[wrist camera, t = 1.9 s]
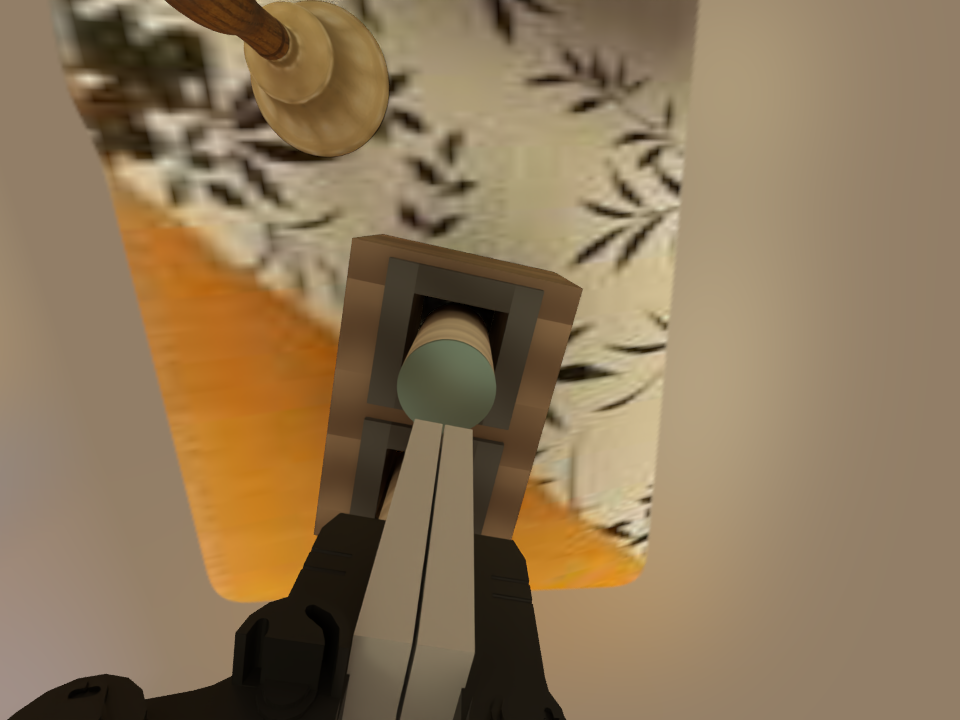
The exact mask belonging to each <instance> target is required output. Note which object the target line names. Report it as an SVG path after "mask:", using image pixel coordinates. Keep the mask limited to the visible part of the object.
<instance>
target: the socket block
mask: <svg viewBox="0 0 960 720" xmlns="http://www.w3.org/2000/svg"><path fill="white" fill-rule="evenodd" d="M582 290H583V289H582V288H580V287H579V286H577V285H575V284H574V283H572V282H570V281H569V280H567V279H565V278H564V277H562V276H560V275H558V274H557V273H555V272H551V271H546V270H542V269H537V268H533V267H528V266H524V265H519V264H515V263H510V262H506V261H501V260H497V259H492V258H488V257H483V256H479V255H474V254H470V253H465V252H461V251H456V250H452V249H447V248H443V247H438V246H434V245H429V244H425V243H420V242H416V241H411V240H407V239H402V238H398V237H393V236H389V235H384V234H380V235H372V236H364V237H357V238H352V245H351V253H350V260H349V268H348V276H347V284H346V291H345V299H344V307H343V314H342V322H341V330H340V337H339V345H338V353H337V360H336V368H335V376H334V383H333V391H332V399H331V407H330V414H329V422H328V430H327V437H326V445H325V453H324V460H323V468H322V476H321V483H320V491H319V499H318V506H317V514H316V522H315V530H314V535H318V534H319V532H320V530H321V528H322V527H323V526H324V525H326V524H327V523H328V522H329V521H331V520H332V519H333V518H334V517H336V516H337V515H338V514H339V513H345V514H351V515H357V516H363V517H369V518H375V519H379V516H380V513H381V510H382V507H383V504H384V500H385V497H386V494H387V491H388V487H389V484H390V481H391V478H392V475H393V471H394V468H395V465H396V462H397V460H398V458H399V456H400V455H401V454H402V453H397V450H399V451H405V452H406V449H407V445H408V442H409V438H410V435H411V431H412V428H413V424H414V422H413V421H412V420H411V419H410V418H409V417H408V415H407V414H406V413H405V411H404V410H403V408H402V406H401V404H400V401H399V398H398V393H397V380H398V375H399V372H400V370H401V367H402V365H403V363H404V361H405V359H406V357H407V355H408V353H409V351H410V348H411V346H412V344H413V342H414V340H415V338H416V336H417V334H418V331H419V326H420V320H421V315H422V309H423V304H424V298H425V296H430V297H434V298H439V299H444V300H448V301H453V302H458V303H462V304H467V305H472V306H477V307H481V308H486V309H491V310H495V311H494V315H493V320H492V324H491V328H490V333H489V342H490V348H491V355H492V361H493V367H494V374H495V380H496V395H495V400H494V403H493V406H492V408H491V410H490V411H489V413H488V414H487V415H486V417H485V418H484V419H483V420H482V421H481V422H480V423H478V424H477V425H475V426H474V427H472V428H470V429H471V430H473V526H474V534H479V535H485V536H491V537H497V538H503V539H509V540H511V539H512V535H513V532H514V528H515V525H516V521H517V518H518V514H519V511H520V507H521V504H522V500H523V497H524V493H525V490H526V486H527V483H528V479H529V476H530V472H531V469H532V465H533V462H534V458H535V455H536V451H537V448H538V444H539V441H540V437H541V434H542V430H543V427H544V423H545V420H546V416H547V413H548V409H549V406H550V402H551V399H552V395H553V391H554V388H555V384H556V381H557V377H558V374H559V370H560V367H561V363H562V360H563V356H564V353H565V349H566V346H567V342H568V339H569V335H570V332H571V328H572V325H573V321H574V318H575V314H576V311H577V307H578V304H579V300H580V297H581V293H582ZM442 437H443V434H442V433H441V440H440V446H441V441H442ZM439 451H440V447H439ZM438 455H439V454H438Z"/></svg>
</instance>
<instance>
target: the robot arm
mask: <svg viewBox="0 0 960 720" xmlns="http://www.w3.org/2000/svg"><path fill="white" fill-rule="evenodd" d="M442 425H443V424H440V423H434V422H429V421H424V420H419V419H415V420H414V424H413V428H412V431H411V435H410V438H409V442H408V445H407V449H406V452H405V456H404V459H403V463H402V466H401V470H400V473H399V477H398V480H397V484H396V487H395V491H394V494H393V498H392V501H391V505H390V508H389V512H388V515H387V519H386V520H381V519H375V518H369V517H363V516H357V515H351V514H345V513H339V514H338V515H337V516H336V517H334V518H333V519H332V520H331V521H329V522H328V523H327V524H326V525H324V526H323V527H322V528H321V530H320V532H319V534H318V537H317V539H316V541H315V543H314V545H313V547H312V550H311V552H310V553H309V555H308V557H307V559H306V561H305V563H304V566H303V569H301V571H300V573H299V575H298V577H297V579H296V582H295V584H294V586H293V588H292V590H291V592H290V594H289V596H288V597H286V598H282V599H279V600H276V601H273V602H269V603H268V604H267V605H265V606H263V607H262V608H260V609H259V610H257V611H256V612H254V613H253V614H251V615H250V616H249V617H248V618H247V619H246V621H245V622H244V623H243V624H242V625H241V627H240V628H239V629H238V630H237V632H236V634H235V647H234V659H233V672H232V673H233V674H232V676H231V677H229V678H227V679H225V680H223V681H220V682H218V683H216V684H215V685H212V686H208V687H205V688H201V689H197V690H194V691H188V692H183V693H178V694H172V695H167V696H161V697H156V698H150V699H144V694H143V690H142V689H141V688H140V687H139V686H137V685H136V684H135V683H134V682H133V681H131V680H130V679H129V678H126V677H120V676H115V675H109V674H103V675H97V676H90V677H84V678H79V679H76V680H73V681H71V682H69V683H67V684H64V685H62V686H59V687H57V688H54V689H52V690H50V691H48V692H46V693H44V694H43V695H41V696H40V697H38V698H37V699H35V700H34V701H32V702H31V703H29V704H28V705H27V706H25V707H24V708H22V709H21V710H19V711H18V712H16V713H15V714H14V715H13V716H11V717H10V718H9V719H8V720H566V719H565V717H564V714H563V712H562V709H561V707H560V706H559V704H558V703H557V702H556V700H555V699H554V698H553V696H552V695H551V694H550V692H549V690H548V687H547V684H546V680H545V675H544V669H543V663H542V657H541V651H540V645H539V638H538V632H537V627H536V620H535V614H534V608H533V604H532V596H531V590H530V585H529V577H528V571H527V565H526V560H525V558H524V556H523V555H522V553H521V552H520V550H519V549H518V547H517V546H516V544H515V542H514V541H513V540H509V539H503V538H497V537H491V536H485V535H479V534H474V526H473V430H471V429H466V428H461V427H455V426H450V425H445V427H444V432H443V437H442V441H441V446H440V440H441V433H442ZM439 447H440V451H439ZM438 454H439V455H438Z"/></svg>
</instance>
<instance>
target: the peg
mask: <svg viewBox="0 0 960 720" xmlns="http://www.w3.org/2000/svg"><path fill="white" fill-rule="evenodd" d="M397 393H398V398H399V401H400V404H401V406H402V408H403V410H404V411H405V413H406V414H407V415H408V417H409V418H410V419H411V420H412V421H413V422H414V420H415V419H419V420H424V421H429V422H434V423H440V424H443V425H442V434H443V432H444V427H445V425H450V426H455V427H461V428H466V429H470V428H472V427H474V426H475V425H477V424H478V423H480V422H481V421H482V420H483V419H484V418H485V417H486V415H487V414H488V413H489V411H490V410H491V408H492V406H493V403H494V400H495V395H496V380H495V374H494V367H493V361H492V355H491V348H490V342H489V335H488V330H487V327H486V324H485V322H484V320H483V319H482V318H481V316H480V315H479V314H478V313H477V312H476V311H474V310H473V309H471V308H469V307H467V306H464V305H460V304H447V305H443V306H440V307H438V308H436V309H435V310H433V311H432V312H431V313H430V314H429V315H428V316H427V317H426V318H425V320H424V322H423V323H422V326H421V328H420V330H419V332H418V334H417V336H416V338H415V340H414V342H413V344H412V346H411V348H410V351H409V353H408V355H407V357H406V359H405V361H404V363H403V365H402V367H401V370H400V372H399V375H398V380H397Z"/></svg>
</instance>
